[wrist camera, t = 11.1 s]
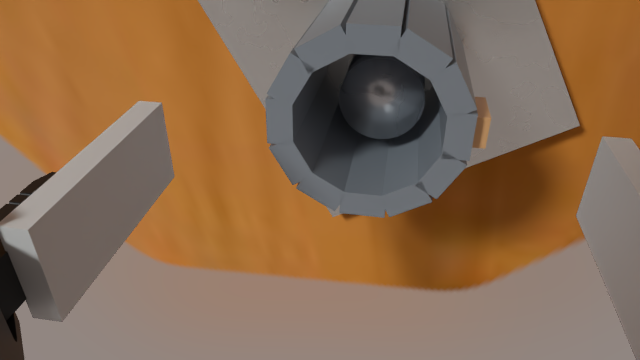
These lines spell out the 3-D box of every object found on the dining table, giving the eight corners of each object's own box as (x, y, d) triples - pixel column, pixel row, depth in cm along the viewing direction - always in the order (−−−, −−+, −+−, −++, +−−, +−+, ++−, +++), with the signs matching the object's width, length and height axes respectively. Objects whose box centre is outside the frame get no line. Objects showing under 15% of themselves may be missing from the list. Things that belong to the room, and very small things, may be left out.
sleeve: (307, 124, 28) (270, 205, 21) (307, -23, 24) (261, 18, 17) (460, 137, 27) (472, 227, 20) (485, -16, 23) (511, 32, 16)
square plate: (204, -5, 26) (152, 25, 21) (471, -171, 21) (486, -184, 16) (335, 207, 32) (318, 272, 27) (575, 117, 26) (610, 176, 21)
